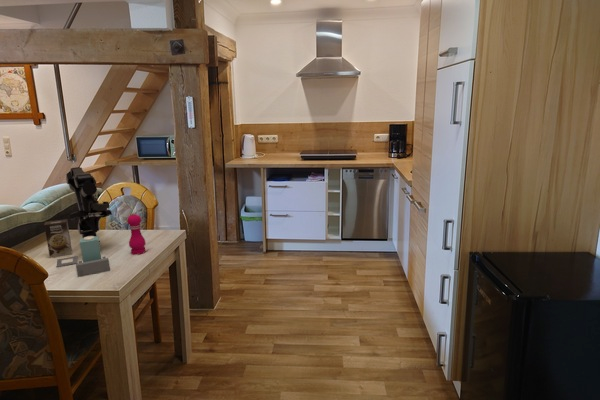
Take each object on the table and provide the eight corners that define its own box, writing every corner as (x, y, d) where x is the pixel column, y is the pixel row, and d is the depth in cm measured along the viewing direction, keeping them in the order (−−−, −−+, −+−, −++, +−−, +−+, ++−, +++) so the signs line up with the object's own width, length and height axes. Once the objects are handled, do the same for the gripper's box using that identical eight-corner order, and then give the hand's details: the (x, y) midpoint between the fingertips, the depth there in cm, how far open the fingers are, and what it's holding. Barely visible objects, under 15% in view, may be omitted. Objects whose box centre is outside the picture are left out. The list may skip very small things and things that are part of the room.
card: (57, 260, 178) (57, 259, 178) (77, 256, 182) (77, 255, 182) (56, 267, 170) (56, 266, 170) (77, 263, 174) (77, 262, 174)
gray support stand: (77, 268, 169) (75, 257, 167) (108, 262, 174) (106, 251, 173) (77, 277, 159) (75, 265, 158) (110, 270, 165) (108, 259, 164)
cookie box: (49, 258, 181) (43, 224, 178) (50, 254, 187) (44, 221, 183) (72, 254, 185) (66, 221, 182) (72, 250, 191) (67, 218, 187)
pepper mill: (133, 250, 189) (127, 209, 184) (148, 249, 189) (143, 209, 185) (128, 255, 182) (122, 214, 177) (144, 254, 182) (138, 213, 178)
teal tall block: (83, 264, 171) (79, 237, 168) (101, 261, 175) (97, 234, 172) (84, 269, 166) (79, 240, 163) (102, 265, 170) (98, 237, 167)
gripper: (83, 195, 172) (91, 229, 171) (116, 195, 190) (123, 226, 189) (65, 202, 176) (73, 235, 175) (99, 201, 193) (106, 232, 192)
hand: (95, 232), depth 182 cm, fingers closed
